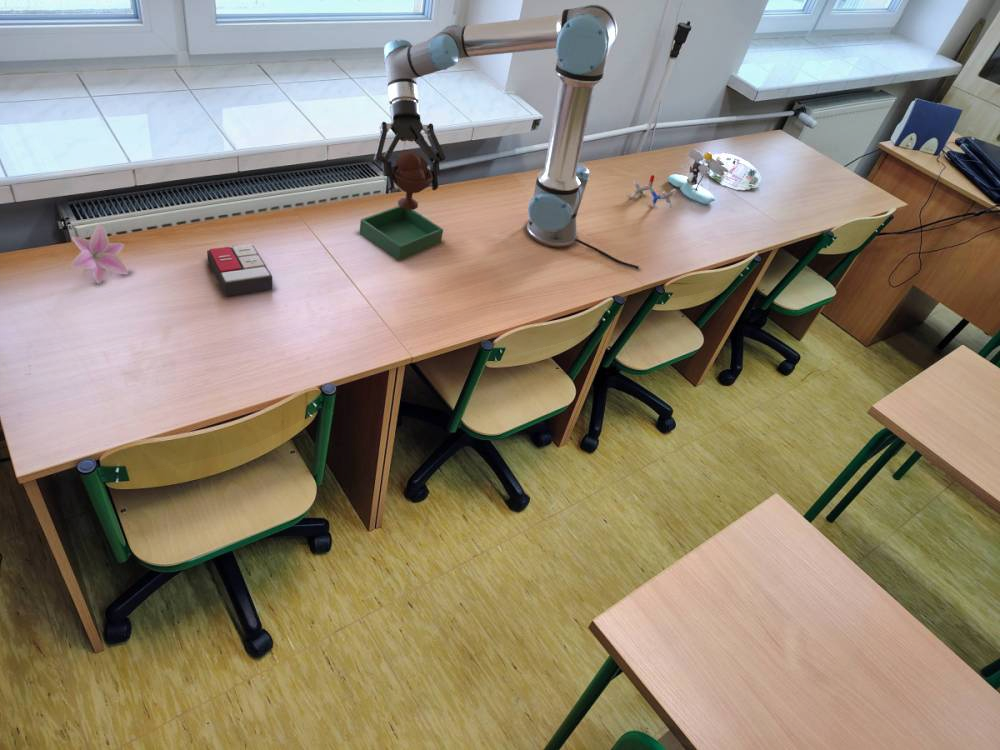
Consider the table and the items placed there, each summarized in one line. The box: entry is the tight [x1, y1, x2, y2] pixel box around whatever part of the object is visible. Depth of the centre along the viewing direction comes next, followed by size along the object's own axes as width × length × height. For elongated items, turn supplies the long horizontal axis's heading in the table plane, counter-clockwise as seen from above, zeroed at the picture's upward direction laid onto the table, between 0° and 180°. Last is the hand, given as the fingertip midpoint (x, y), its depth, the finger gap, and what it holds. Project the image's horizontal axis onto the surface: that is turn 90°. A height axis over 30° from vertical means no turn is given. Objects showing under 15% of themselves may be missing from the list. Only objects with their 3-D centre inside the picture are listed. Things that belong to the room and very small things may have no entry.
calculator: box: [206, 243, 273, 297], centre depth 168 cm, size 11×4×15 cm
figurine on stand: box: [667, 148, 728, 205], centre depth 252 cm, size 20×11×15 cm, turn 30°
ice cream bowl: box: [392, 150, 433, 211], centre depth 184 cm, size 11×11×15 cm
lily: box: [69, 222, 129, 284], centre depth 158 cm, size 12×12×10 cm
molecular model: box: [630, 174, 677, 209], centre depth 240 cm, size 18×8×10 cm, turn 42°
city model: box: [703, 152, 763, 191], centre depth 274 cm, size 25×23×6 cm
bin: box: [359, 205, 444, 261], centre depth 194 cm, size 15×16×4 cm
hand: (413, 188), depth 183 cm, fingers closed on ice cream bowl, 11 cm apart
